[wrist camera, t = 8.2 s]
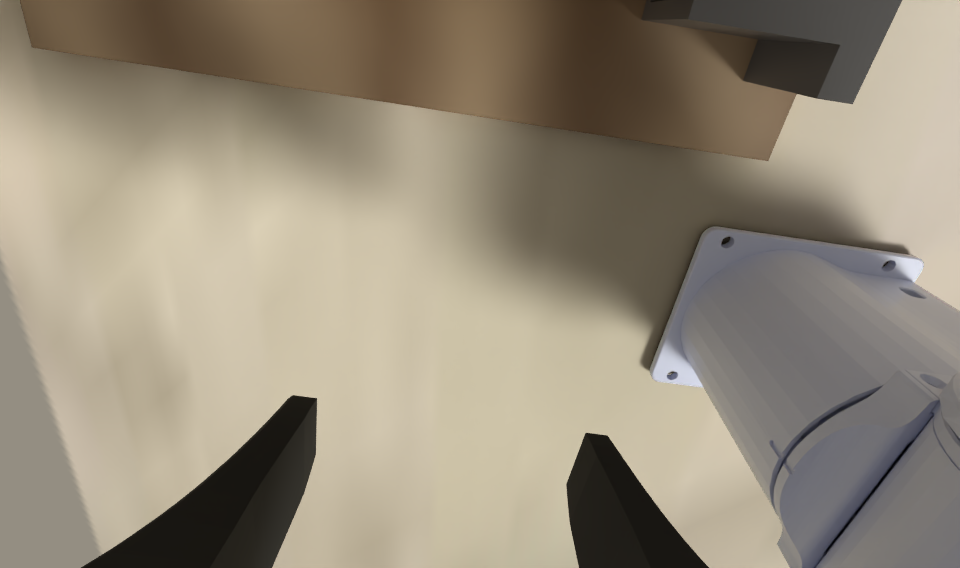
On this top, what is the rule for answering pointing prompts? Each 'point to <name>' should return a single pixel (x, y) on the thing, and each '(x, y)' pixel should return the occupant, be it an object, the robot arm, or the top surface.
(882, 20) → the socket
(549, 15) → the base board
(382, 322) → the top surface
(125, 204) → the top surface
